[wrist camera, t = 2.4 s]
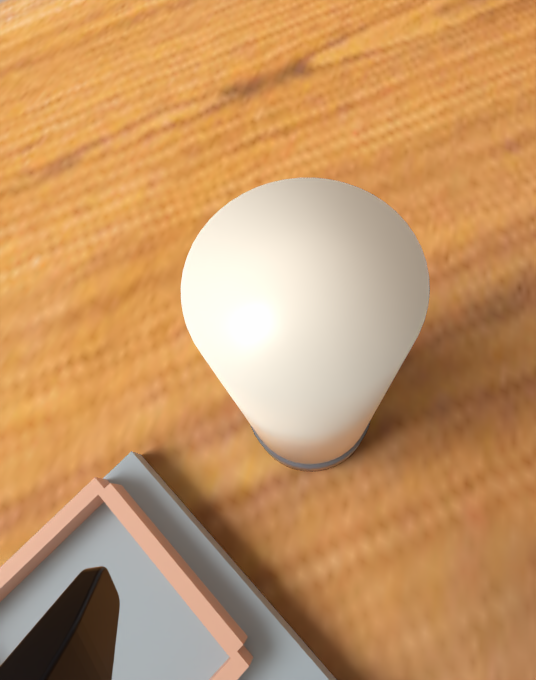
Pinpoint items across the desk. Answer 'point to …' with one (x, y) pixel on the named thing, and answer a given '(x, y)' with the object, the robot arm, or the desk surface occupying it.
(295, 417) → the white cylinder
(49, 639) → the robot arm
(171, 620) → the socket board
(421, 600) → the desk surface
